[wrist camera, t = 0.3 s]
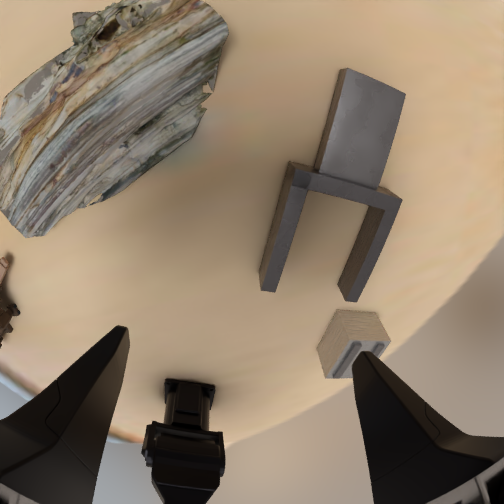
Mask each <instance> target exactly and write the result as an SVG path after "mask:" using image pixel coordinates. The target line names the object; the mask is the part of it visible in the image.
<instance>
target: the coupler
mask: <svg viewBox="0 0 504 504" xmlns="http://www.w3.org/2000/svg"><path fill="white" fill-rule="evenodd" d="M405 95H406V94H405V93H403V92H401V91H399V90H397V89H395V88H393V87H391V86H389V85H386V84H384V83H382V82H380V81H378V80H375V79H373V78H371V77H369V76H366V75H364V74H361V73H359V72H357V71H354V70H351V69H349V68H345V69H341V70H340V72H339V76H338V80H337V84H336V88H335V92H334V96H333V100H332V103H331V107H330V111H329V115H328V118H327V122H326V126H325V129H324V133H323V136H322V140H321V144H320V147H319V151H318V154H317V158H316V161H315V165H314V167H311V166H307V165H303V164H299V163H295V162H291V161H289V164H288V168H287V171H286V175H285V179H284V183H283V186H282V190H281V194H280V197H279V201H278V205H277V208H276V212H275V216H274V219H273V223H272V227H271V230H270V234H269V237H268V241H267V245H266V248H265V252H264V255H263V259H262V263H261V266H260V270H259V280H260V287H261V291H269V292H276V289H277V286H278V283H279V280H280V277H281V274H282V271H283V268H284V265H285V261H286V258H287V255H288V252H289V249H290V246H291V243H292V240H293V236H294V233H295V230H296V227H297V224H298V221H299V217H300V214H301V211H302V208H303V204H304V201H305V198H306V194H307V191H308V190H312V191H316V192H321V193H325V194H329V195H332V196H336V197H340V198H344V199H348V200H352V201H355V202H359V203H363V204H366V205H370V206H369V209H368V211H367V214H366V217H365V219H364V222H363V225H362V227H361V230H360V232H359V235H358V237H357V240H356V242H355V245H354V247H353V250H352V252H351V254H350V257H349V259H348V262H347V264H346V266H345V268H344V271H343V273H342V275H341V278H340V280H339V282H338V284H337V285H338V287H339V289H340V291H341V293H342V295H343V297H344V299H345V301H349V302H357V301H358V299H359V297H360V295H361V293H362V291H363V289H364V287H365V285H366V283H367V281H368V279H369V277H370V275H371V272H372V270H373V268H374V266H375V264H376V262H377V260H378V257H379V255H380V253H381V251H382V249H383V246H384V244H385V242H386V239H387V237H388V235H389V232H390V230H391V228H392V225H393V223H394V220H395V218H396V215H397V213H398V210H399V208H400V205H401V203H402V199H401V198H399V197H398V196H397V195H395V194H394V193H392V192H391V191H390V190H388V189H385V188H382V187H379V183H380V180H381V177H382V174H383V171H384V168H385V165H386V162H387V159H388V156H389V152H390V149H391V146H392V143H393V139H394V136H395V133H396V129H397V126H398V122H399V118H400V115H401V111H402V107H403V103H404V99H405Z"/></svg>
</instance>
